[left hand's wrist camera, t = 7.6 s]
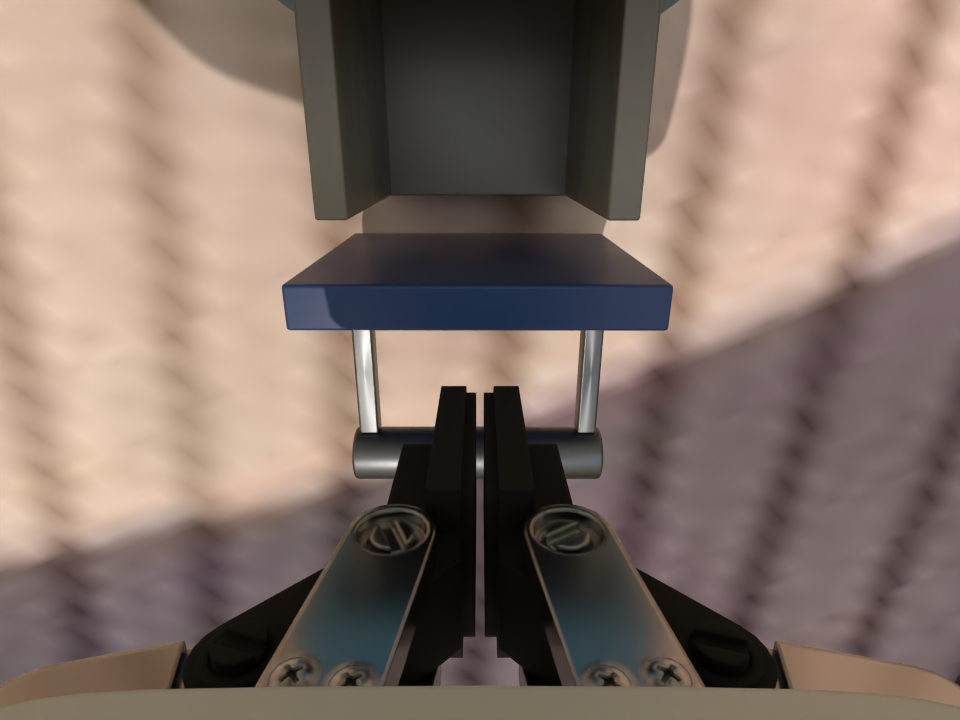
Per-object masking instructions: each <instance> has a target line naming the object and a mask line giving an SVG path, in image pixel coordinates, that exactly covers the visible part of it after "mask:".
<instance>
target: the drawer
mask: <svg viewBox="0 0 960 720" xmlns="http://www.w3.org/2000/svg"><path fill="white" fill-rule="evenodd" d="M661 1H662V0H293V2H294V12H295V22H296V32H297V42H298V52H299V62H300V72H301V82H302V92H303V102H304V112H305V122H306V132H307V142H308V152H309V162H310V172H311V182H312V192H313V202H314V212H315V218H316V219H317V220H347V219H349V218H351V217H352V216H354V215H356V214H358V213H360V212H361V211H363V210H365V209H367V208H369V207H370V206H372V205H374V204H376V203H378V202H379V201H381V200H383V199H385V198H387V197H388V196H390V195H439V196H567V197H569V198H571V199H573V200H574V201H576V202H578V203H580V204H581V205H583V206H585V207H587V208H588V209H590V210H592V211H594V212H595V213H597V214H599V215H601V216H602V217H604V218H606V219H608V220H639V219H640V212H641V202H642V192H643V182H644V172H645V162H646V152H647V142H648V132H649V122H650V112H651V102H652V92H653V82H654V72H655V62H656V52H657V41H658V31H659V21H660V11H661ZM282 293H283V301H284V309H285V317H286V325H287V329H288V330H352V340H353V352H354V364H355V376H356V388H357V400H358V412H359V424H360V427H359V428H357V430H356V433H355V436H354V441H353V450H352V463H353V470H354V474H355V476H356V478H359V479H394V477H395V473H396V469H397V465H398V461H399V457H400V454H401V450H402V446H403V444H432V442H433V436H434V430H435V427H381V412H380V397H379V383H378V368H377V353H376V338H375V330H581V333H580V348H579V363H578V378H577V392H576V407H575V422H574V425H575V427H525V430H526V436H527V442H528V444H557V446H558V450H559V454H560V457H561V461H562V465H563V469H564V473H565V477H566V479H597V478H599V477H600V475H601V472H602V467H603V445H602V438H601V434H600V431H599V429H598V428H597V427H596V417H597V405H598V393H599V381H600V369H601V357H602V345H603V333H604V330H667V329H668V325H669V317H670V309H671V301H672V293H673V286H672V285H671V284H670V283H668V282H667V281H665V280H664V279H663V278H661V277H660V276H658V275H657V274H656V273H654V272H653V271H652V270H650V269H649V268H647V267H646V266H645V265H643V264H642V263H640V262H639V261H638V260H636V259H635V258H634V257H632V256H631V255H629V254H628V253H627V252H625V251H624V250H622V249H621V248H620V247H618V246H617V245H616V244H614V243H613V242H611V241H610V240H609V239H607V238H606V237H605V236H603V235H602V234H354V235H353V236H351V237H350V238H348V239H347V240H346V241H344V242H343V243H341V244H340V245H339V246H337V247H336V248H334V249H333V250H332V251H330V252H329V253H327V254H326V255H324V256H323V257H322V258H320V259H319V260H317V261H316V262H315V263H313V264H312V265H310V266H309V267H307V268H306V269H305V270H303V271H302V272H300V273H299V274H298V275H296V276H295V277H293V278H292V279H291V280H289V281H288V282H286V283H285V284H283V285H282ZM476 479H484V427H476Z"/></svg>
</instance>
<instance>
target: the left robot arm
mask: <svg viewBox="0 0 960 720" xmlns="http://www.w3.org/2000/svg"><path fill="white" fill-rule="evenodd" d="M475 594H476V393H467V390H466V386H442V387H441V392H440V399H439V405H438V411H437V417H436V424H435V430H434V436H433V442H432V444H403V446H402V450H401V454H400V457H399V461H398V465H397V469H396V473H395V477H394V481H393V484H392V488H391V492H390V496H389V500H388V504H387V505H383V506H378V507H375V508H373V509H370V510H368V511H365V512H364V513H362V514H361V515H359V516H358V517H356V518H355V519H354V520H353V522H352V523H351V524H350V525H349V527H348V528H347V530H346V532H345V533H344V535H343V537H342V538H341V540H340V542H339V544H338V545H337V547H336V549H335V550H334V552H333V554H332V556H331V557H330V559H329V561H328V562H327V564H326V566H325V568H323V569H321V570H319V571H318V572H316V573H314V574H312V575H310V576H309V577H307V578H305V579H303V580H301V581H300V582H298V583H296V584H294V585H292V586H291V587H289V588H287V589H285V590H283V591H282V592H280V593H278V594H276V595H274V596H273V597H271V598H269V599H267V600H265V601H264V602H262V603H260V604H258V605H256V606H255V607H253V608H251V609H249V610H247V611H246V612H244V613H242V614H240V615H238V616H237V617H235V618H233V619H231V620H229V621H227V622H226V623H224V624H222V625H220V626H219V627H217V628H216V629H214V630H213V631H211V632H210V633H209V634H207V635H206V636H204V637H203V638H202V639H201V641H200V642H199V643H198V644H197V645H196V646H195V647H194V648H192V649H187V648H186V644H185V641H180V642H175V643H169V644H164V645H158V646H152V647H147V648H141V649H136V650H130V651H125V652H119V653H114V654H108V655H103V656H97V657H92V658H86V659H81V660H75V661H70V662H64V663H59V664H53V665H48V666H44V667H41V668H37V669H34V670H31V671H27V672H25V673H23V674H21V675H19V676H17V677H15V678H13V679H11V680H9V681H7V682H6V683H4V684H2V685H1V686H0V720H960V686H959V685H958V684H956V683H954V682H953V681H951V680H949V679H947V678H945V677H943V676H941V675H939V674H937V673H935V672H933V671H929V670H926V669H923V668H919V667H916V666H912V665H907V664H901V663H896V662H890V661H885V660H879V659H874V658H868V657H863V656H857V655H852V654H846V653H841V652H835V651H830V650H824V649H819V648H813V647H808V646H802V645H796V644H791V643H785V642H780V641H775V644H774V648H773V649H768V648H766V647H765V646H764V645H763V644H762V643H761V642H760V641H759V639H758V638H757V637H756V636H754V635H753V634H751V633H750V632H749V631H747V630H746V629H744V628H743V627H741V626H740V625H738V624H736V623H734V622H733V621H731V620H729V619H727V618H725V617H723V616H722V615H720V614H718V613H716V612H714V611H713V610H711V609H709V608H707V607H705V606H704V605H702V604H700V603H698V602H696V601H695V600H693V599H691V598H689V597H687V596H686V595H684V594H682V593H680V592H678V591H677V590H675V589H673V588H671V587H669V586H668V585H666V584H664V583H662V582H660V581H659V580H657V579H655V578H653V577H651V576H650V575H648V574H646V573H644V572H642V571H641V570H639V569H637V568H635V566H634V564H633V562H632V561H631V559H630V557H629V556H628V554H627V552H626V550H625V549H624V547H623V545H622V544H621V542H620V540H619V538H618V537H617V535H616V533H615V532H614V530H613V528H612V527H611V525H610V524H609V523H608V522H607V520H606V519H605V518H604V517H602V516H601V515H599V514H598V513H596V512H595V511H592V510H590V509H587V508H585V507H582V506H577V505H573V504H572V500H571V496H570V492H569V488H568V484H567V481H566V477H565V473H564V469H563V465H562V461H561V457H560V454H559V450H558V446H557V444H528V442H527V436H526V430H525V424H524V417H523V411H522V405H521V399H520V392H519V387H518V386H494V390H493V393H484V594H485V637H497V658H512V659H513V660H514V661H515V662H517V663H518V664H519V684H520V686H440V684H441V664H442V663H443V662H445V661H446V660H447V659H448V658H463V637H475Z"/></svg>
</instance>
